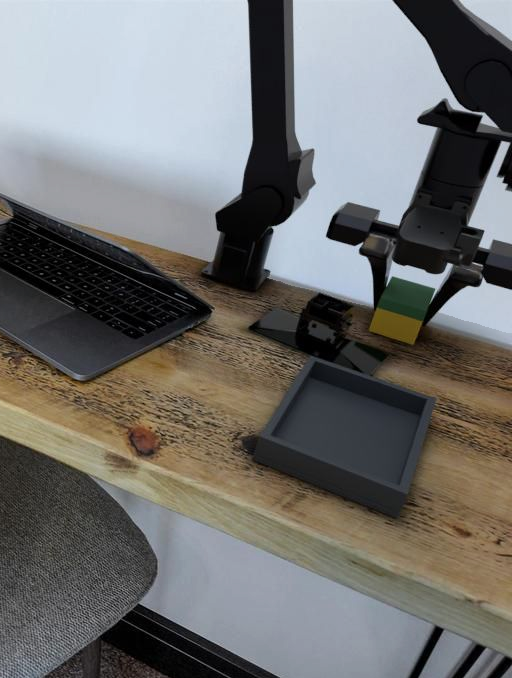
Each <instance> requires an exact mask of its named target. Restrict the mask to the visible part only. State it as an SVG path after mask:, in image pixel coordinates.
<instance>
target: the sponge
mask: <svg viewBox="0 0 512 678" xmlns="http://www.w3.org/2000/svg"><path fill="white" fill-rule="evenodd" d="M435 293H436V288H435V287H431V286H428V285H424V284H421V283H418V282H414V281H410V280H408V279H404V278H399V277H396V276H394V275H392V276H391V277H390V279H389V280H388V282H387V286H386V288H385V290H384V292H383V294H382V296H381V298H380V300H379V303H378V306H377V309H376V311H374V314H373V317H372V320H371V322H370V325H369V328H368V331H369V332H371V333H374V334H377V335H380V336H383V337H386V338H389V339H394V340H395V341H399V342H402V343H404V344H407V345H411V346H414V344H415V342H416V339H417V338H418V334H419V332H420V329H421V327H422V326H421V325H422V322H423V320H424V317H425V315H426V312H427V310H428V307H429V305H430V303H431V301H432V299H433V297H434V295H435Z"/></svg>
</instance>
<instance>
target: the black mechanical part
mask: <svg viewBox="0 0 512 678" xmlns="http://www.w3.org/2000/svg"><path fill="white" fill-rule="evenodd" d="M354 307H355V306H354V305H353V304H351V303H348V302H346V301H344V300H341V299H337V298H335V297H332V296H329V295H327V294H324V293H321V292H318V293H317V294H315V295H314V296H313V297H311V298H310V299H308V300H307V302H306V305H305V306H303V307H302V309H301V310H300V311H299V315H297V314H295V313H292V312H289V311H287V310H284V309H282V308H279V307H275V308H274V309H272V310H271V311H268V313H266V314H265V315H263V316H262V317H261V318H259V319H258V320H256V321H255V322H253V323H252V324H251V325H249V326H248V328H247V331H248V332H250V333H253V334H255V335H257V336H260V337H262V338H265V339H267V340H269V341H272V342H274V343H277V344H279V345H282V346H284V347H286V348H289V349H291V350H294V351H296V352H299V353H300V354H303V355H305V356H307V357H309V356H313V357H316V358H319V359H322V360H325V361H328V362H331V363H334V364H337V365H340V366H343V367H346V368H349V369H352V370H355V371H357V372H360V373H363V374H366V375H369V376H372V375H373V374H374V373H375V372H376V371H377V370H378V369H379V368H380V367H381V366H382V365H383V364H384V363H385V362H386V360H388V359H389V358H390V357H391V354H392V352H391V351H389V350H386V349H383V348H381V347H379V346H376V345H373V344H370V343H368V342H365V341H363V340H361V339H358V338H355V337H353V336H350V335H348V333H349V330H350V327H352V326H353V323H354V322H353V319H354V317H355V316H354V314H353V313H352V312H353V309H354Z"/></svg>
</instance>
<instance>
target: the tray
mask: <svg viewBox="0 0 512 678" xmlns="http://www.w3.org/2000/svg"><path fill="white" fill-rule="evenodd" d="M436 402H437V398H436V397H434V396H432V395H431V396H430V395H427V394H425V393H421V392H419V391H416V390H413V389H410V388H407V387H404V386H402V385H398V384H395V383H392V382H389V381H386V380H384V379H381V378H378V377H375V376H372V375H371V376H369V375H366V374H363V373H360V372H357V371H355V370H352V369H349V368H346V367H343V366H340V365H337V364H334V363H331V362H328V361H325V360H322V359H319V358H316V357H313V356H308V357H307V359H306V360H305V363H304V364H303V365H302V367H301V369H300V371H299V372H298V374H297V375H296V377H295V379H294V380H293V382H292V384H291V385H290V387H289V388H288V390H287V391H286V393H285V394H284V396H283V397H282V399H281V401H280V403H279V404H278V406H277V407H276V409H275V411H274V412H273V413H272V415H271V417H270V418H269V420H268V422H267V423H266V425H265V426H264V428H263V429H262V431H261V432H260V435H259V436H258V439H257V443H256V445H255V449H254V453H253V455H252V459H251V460H252V461H254V462H257V463H259V464H261V465H264V466H265V467H266V466H267V467H268V468H271V469H273V470H276V471H278V472H281V473H284V474H285V475H287V476H290V477H294V478H296V479H298V480H301V481H303V482H306V483H308V484H311V485H312V486H315V487H317V488H320V489H323V490H325V491H328V492H330V493H332V494H335V495H338V496H340V497H343V498H345V499H348V500H349V501H352V502H355V503H358V504H359V505H362V506H364V507H367V508H370V509H371V510H374V511H377V512H380V513H382V514H384V515H387V516H389V517H392V518H394V519H398V518H399V516H400V513H401V511H402V509H403V506H404V504H405V501H406V500H407V498H408V495H409V492H410V488H411V486H412V483H413V478H414V475H415V473H416V469H417V465H418V462H419V459H420V456H421V452H422V448H423V444H424V443H425V439H426V435H427V432H428V429H429V427H430V426H429V425H430V421H431V418H432V416H433V412H434V409H435V405H436Z"/></svg>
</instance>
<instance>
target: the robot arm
mask: <svg viewBox="0 0 512 678" xmlns="http://www.w3.org/2000/svg"><path fill="white" fill-rule="evenodd" d="M391 1H392V2H393V3H394V4H395V5H396V6H397V8H398V9H399V10H400V11H401V12H402V14H403V15H404V16H405V17H406V19H407V20H408V21H409V22H410V23H411V24H412V25H413V26H414V28H415V29H416V30H417V32H419V34H420V35H421V36H422V37H423V38H424V40H425V41H426V43H427V45H428V47H429V49H430V50H431V52H432V55H433V58H434V59H435V61H436V65H437V66H438V69H439V71H440V73H441V74H442V77H443V79H444V81H445V82H446V85H447V86H448V88H449V90H450V92H451V93H452V95H453V96H454V99H455V100H456V101H457V103H458V104H459V106H461V107H463V108H464V109H465V110H466V111H465V110H460V109H454V108H453V107H452V106H451V104H450V102H449V99H448V98H446V97H444V98H442V99H441V100H440V101H439V102H438V103H436V104H435V105H434V106H432V107H430V108H428V109H425V110H423V111H422V112H421V114H420V115H418V117H417V118H416V122H417V124H418V125H422V126H427V127H433V128H435V132H434V134H433V136H432V137H433V138H432V140H431V143H430V146H429V147H428V152H427V154H426V157H425V160H424V163H423V165H422V168H421V170H420V172H419V173H420V174H419V176H418V180H417V181H416V183H415V184H416V185H415V187H414V190H413V193H412V196H411V199H410V201H409V203H408V204H409V205H408V207H407V208H406V209H405V211H404V213H403V214H402V216H401V219H400V222H399V225H397V224H394V223H390V222H386V221H384V220H383V221H382V220H379V218H380V213H381V209H378V208H373V207H369V206H365V205H361V204H357V203H354V202H350V201H347V202H346V203H344V204H342V205H341V206H340V207H339V208H338V209H337V210H336V211H335V212H334V213H333V215H332V217H331V219H330V221H329V223H328V228H327V230H326V234H325V237H326V238H327V240H330V241H333V242H337V243H341V244H345V245H349V246H351V247H357V246H358V245H360V247H359V249H358V255H360V256H363V257H365V258H367V261H368V264H369V265H370V270H371V275H372V300H373V312H375V311H376V309H377V306H378V303H379V300H380V298H381V296H382V294H383V292H384V290H385V288H386V287H387V285H388V283H389V276H390V272H391V269H392V265H393V263H395V264H396V265H398V266H403V267H406V266H409V267H411V268H415V269H419V270H422V271H424V272H426V273H427V274H430V275H441V274H443V273H444V272H445V271H446V269H447V266H448V264H451V266H450V267H449V269H448V271H447V273H446V275H445V277H444V278H443V280H442V282H441V284H440V285H439V287H438V289H437V291H435V293H434V295H433V297H432V299H431V302H430V304H429V307H428V310H427V312H426V315H425V317H424V320H423V322H422V325H421V327H426V326H427V325H428V324H429V322H430V321H431V320H432V319H433V318H434V317H435V316H436V315H437V313H439V311H440V310H441V309H442V308H443V307H444V306H445V305H446V304H447V303H448V302H449V300H451V299H452V298H453V297H454V296H455V295H457V294H458V293H459V292H460V291H462V290H464V289H465V288H467V287H473V288H479V287H481V285H482V283H483V280H484V281H485V283H486V284H489V285H491V286H495V287H499V288H502V289H507V290H509V291H512V243H510V242H506V241H503V240H502V241H501V240H498V239H494V238H493V239H492V240H491V243H490V244H489V247H488V248H487V247H486V248H485V247H483V246H480V245H481V242H482V240H483V237H484V233H485V229H482V228H477V227H474V226H469V224H470V222H471V219H472V217H473V214H474V211H475V209H476V206H477V204H478V202H479V199H480V196H481V195H482V191H483V190H484V186H485V184H486V182H487V180H488V178H489V177H488V176H489V174H490V172H491V169H492V167H493V164H494V162H495V159H496V157H497V154H498V152H499V150H500V148H501V144H502V142H504V143H509V144H508V147H507V149H506V151H505V154H504V156H503V157H502V158H503V159H502V161H501V163H500V166H499V169H498V171H497V174H496V178H499V179H502V182H501V184H505V185H506V186H505V189H504V191H507V192H511V193H512V40H511V39H510V38H509V37H507V36H506V35H505V34H504V33H502V32H501V31H500V30H498V29H497V28H496V27H494V26H492V25H491V24H490V23H488V22H487V21H485V20H484V19H482V18H481V17H479V16H477V15H476V14H475V13H473V12H472V11H471V10H470V9H468V8H467V7H466V6H465V5H464V3H462V2H461V0H391ZM246 2H247V11H248V15H247V16H248V42H249V43H248V44H249V45H248V47H249V69H250V70H249V71H250V72H249V73H250V74H249V75H250V98H251V99H250V101H251V102H250V103H251V131H252V140H251V146H250V150H249V153H248V157H247V159H246V160H247V161H246V164H245V167H244V171H243V178H242V185H241V192H240V193H239V194H237V195H236V196H235V197H234V198H232V199H231V200H230V201H229V202H227V203H226V204H225V205H223V206H222V207H221V208H220V209H218V210H217V211H216V212H215V214H214V217H215V218H214V219H215V226H216V231H217V232H218V233H219V236H218V239H217V244H216V248H215V252H214V256H213V260H212V261H211V262H209V263H208V264H207V265H206V266H205V267H204V268H203V269H202V270H201V272H200V275H201V276H203V277H205V278H209V279H212V280H215V281H218V282H221V283H224V284H228V285H230V286H234V287H237V288H239V289H240V288H241V289H243V290H246V291H250V292H256V291H258V289H259V288H260V287H261V286H262V284H264V282H265V281H266V280H267V279H268V277H269V276H271V272H272V271H271V270H270V269H267V268H265V265H266V262H267V257H268V254H269V251H270V247H271V243H272V240H273V236H274V233H275V230H274V228H273V227H278V226H280V225H281V224H284V223H285V222H286V221H287V220H288V219H289V218H291V216H292V215H293V214H294V213H296V211H297V210H298V209H299V208H300V207H302V205H303V204H304V203H305V202H306V201H307V199H308V197H309V194H310V191H311V189H312V188H314V187H315V186H316V185H317V182H316V180H315V177H314V171H313V166H314V165H313V164H314V159H315V152H316V151H315V148H307V149H302V148H301V145H300V142H299V140H298V137H297V134H296V110H295V109H296V108H295V107H296V106H295V105H296V103H295V101H296V99H295V46H294V45H295V44H294V43H295V41H294V35H295V34H294V0H247V1H246ZM479 113H480V114H479ZM481 113H482V114H481ZM483 114H485V115H486V116H487V117H488V118H489V119H490V121H492V123H494V125H496V126H492V125H489V124H485V123H483V122H482V120H483V118H484V115H483Z"/></svg>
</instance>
